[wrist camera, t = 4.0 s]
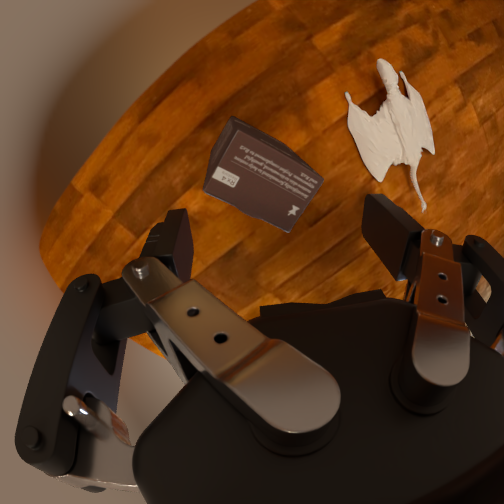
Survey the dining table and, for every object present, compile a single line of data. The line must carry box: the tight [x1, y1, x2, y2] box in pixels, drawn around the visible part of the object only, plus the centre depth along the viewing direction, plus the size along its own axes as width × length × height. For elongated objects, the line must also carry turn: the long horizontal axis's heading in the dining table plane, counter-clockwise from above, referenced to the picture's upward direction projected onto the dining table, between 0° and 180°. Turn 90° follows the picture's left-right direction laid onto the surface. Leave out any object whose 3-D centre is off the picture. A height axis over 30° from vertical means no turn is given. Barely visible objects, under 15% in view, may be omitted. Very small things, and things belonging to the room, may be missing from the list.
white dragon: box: [345, 59, 435, 211], centre depth 24 cm, size 18×10×4 cm, turn 29°
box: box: [203, 116, 324, 233], centre depth 20 cm, size 6×4×12 cm
